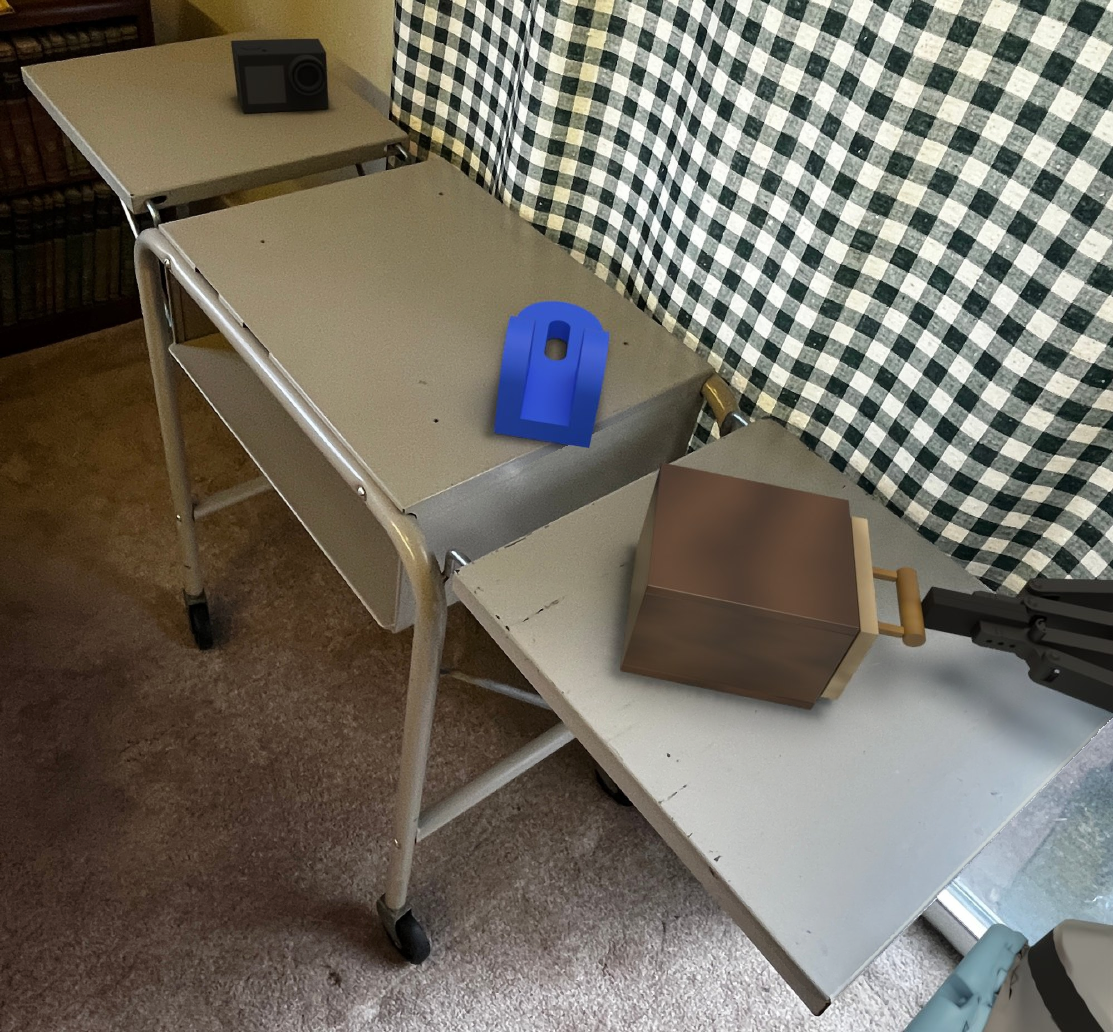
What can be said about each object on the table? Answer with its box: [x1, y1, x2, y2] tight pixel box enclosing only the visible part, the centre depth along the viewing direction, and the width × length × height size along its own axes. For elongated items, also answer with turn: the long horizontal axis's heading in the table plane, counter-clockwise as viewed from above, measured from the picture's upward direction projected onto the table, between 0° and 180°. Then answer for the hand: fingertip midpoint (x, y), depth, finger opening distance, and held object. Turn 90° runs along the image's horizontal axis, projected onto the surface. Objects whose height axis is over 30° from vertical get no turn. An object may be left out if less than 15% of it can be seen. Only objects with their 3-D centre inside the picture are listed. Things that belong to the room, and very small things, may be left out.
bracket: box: [493, 300, 610, 449], centre depth 85 cm, size 18×8×9 cm, turn 175°
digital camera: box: [230, 38, 330, 114], centre depth 115 cm, size 10×5×7 cm, turn 113°
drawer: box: [820, 515, 927, 701], centre depth 67 cm, size 17×10×8 cm, turn 81°
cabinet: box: [620, 462, 859, 711], centre depth 67 cm, size 14×12×10 cm
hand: (925, 606), depth 66 cm, fingers closed
